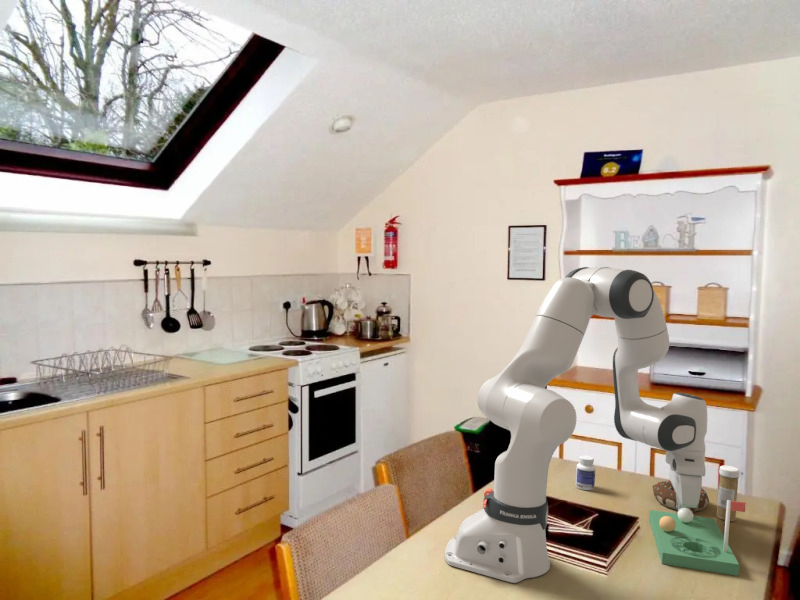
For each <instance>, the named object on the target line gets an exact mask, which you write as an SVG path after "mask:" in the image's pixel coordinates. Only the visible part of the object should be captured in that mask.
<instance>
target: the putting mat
mask: <svg viewBox="0 0 800 600" xmlns="http://www.w3.org/2000/svg"><path fill="white" fill-rule="evenodd" d="M730 510H733V511H736V512H742V513H745V512H746V502H742V501H737V502H736V501H730V500H727V507H726V520H724V524H725V525H724V534H723V532H722V530H721V528H720V527H719V525H718V523H717V521H716V520H715V518H713V517H711V518H710V517H705V516H696V515H693V520H692V521H691V522H689V523H684V522H682V521H681V520H680V519H679V518H678V512H676V513H675V512H669V511H662V510H654V509H649V514H648V515H649V516H648V521H649V524H650V527H651V531H652V534H653V537H654V540H655V544H656V548H657V551H658V555H659V559H660V561H661V564H662V565H667V566H674V567H680V568H687V569H693V570H699V571H704V572H705V571H706V572H710V573H711V572H712V573H718V574H723V575H728V576H729V575H730V576H737V577H739V571H740V564H739V561H738V560H737V558H736V556H735V554H734V553H733V551H732V549H731V547H730V545H729V536H730V535H729V534H730V533H729V531H730V522H731V521H730ZM664 516H669V517H671V518H673V519H674V521H675V523H676V527H675V529H674V530H673V531H671V532H666V531H664V530H663V529H662V528H661V527H660V524H659V522H660V519H661V518H662V517H664Z"/></svg>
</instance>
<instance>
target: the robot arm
mask: <svg viewBox="0 0 800 600" xmlns="http://www.w3.org/2000/svg"><path fill="white" fill-rule="evenodd" d="M594 315H595V316H599V317H602V318H603V317H604V318H614V324H615V325H614V326H615V331H616V336H617V347H616V349H615V350H614V352H613V356H612V377H613V387H614V400H615V401H614V402H615V405H614V408H615V409H614V415H613V416H614V417H613V422H614V426H615V429H616V432H617V433H618V434H619V435H620V437H622V438H624V439H628V440H631V441H635V442H639V443H641V444H644V445H648V446H650V447H653V448H656V449H660V450H662V451H665V463H666V464H668V465H669V471H668V472H669V473H668V477H669V480H670V481H671V483H672V485H673V488H674V490H675V492H676V499H677V506H676V507H677V509H678V510H677V512H678V511H679V510H680V509H681V508H686V507H691V508H696V507H697V506H698V504H699V499H700V493H701V487H702V484H703V477H705V476H706V464H705V463H706V462H705V461H706V443H705V439H706V438H705V437H706V435H707V432H708V431H707V430H708V407H707V403H706V401H705V399H704V398H702V397H700V396H697V395H693V394H690V393H685V392H675V393H673V394H672V398H671V400H670V401H669V402H668V403H667V404H666V405H664V406H661V407H657V406H655V405H650V404H648V403H646V402H645V401H644V400H642V398H641V397H640V389H639V375H638V374H639V373H638V372H639V370H642V369H646V368H649V367H651V366H653V365H655V364H657V363H659V362H661V361H662V360H663V359H664V357H665V356H666V355H667V354H668V351H669V348H670V335H669V331H668V327H667V322H666V317H665V313H664V311H663V307H662V305H661V301H660V300H659V297H658V295H657V293H656V291H655V290H654V287H653V284H652V282H651V281H650V278H648V276H647V275H645V274H643V272H639V271H637V270H633V269H622V268H621V269H620V268H612V267H610V266H598V267H597V266H595V267H589V266H588V267H587V266H585V267H584V266H583V267H578V268H576V269H573V270H571V271H570V272H568V274H566V276H565V277H561V278H559V279H557V280H556V281H555V282H554V283H553V284H552V286H551V287H550V288H549V290H548V292H547V293H546V295H545V296H544V298H543V300H542V301H541V303H540V305H539V308H538V310H537V311H536V313H535V316H534V318H533V320H532V323H531V325H530V327H529V329H528V332H527V334H526V336H525V338H524V340H523V342H522V344H521V346H520V348H519V349H518V351H517V352H516V354H515V355H514V357H513V358H512V359H511V360H510V361H509V362H508V364H507V365H506V366H505V367H504V368H503V369H502V370H501V371H500V372H499V373H497V375H495V376H492V377H491V378H489V379H487V380H485V382H483V384H482V385H481V386H480V388H479V391H478V393H477V405H478V409H479V411H480V413H482V414H483V415H484V417H486V418H487V419H488V420H489V421H491V423H493V424H494V425H496V426H498V427H500V428H503V429H506V430H507V431H509V432H510V441H509V442H510V443H509V445H508V446H507V447H508V448H507V450H505V451H503V452H502V453H500V454H499V455H498V456H497V458H496V460H495V462H494V475H493V476H494V479H493V481H494V482H493V489H492V487H487V488H486V489H484V493H483V497H484V498H483V504H482V505H483V508H481V509H480V510H478V511H476V512H475V513H472V514H470V515H468V516H467V517H466V518H465V519H464V520H463V521H462V522H461V523H460V526H459V528H458V530H457V533H456V535H455V536H453V537H452V538H450V540H449V541H448V543H447V544H446V546H445V550H444V560H445V562H446V563H447V564H448V565H449V566H452V567H455V568H459V569H462V570H464V571H465V570H466V571H468V572H469V571H470V572H473V573H476V574H479V575H484V576H487V577H490V578H494V579H498V580H501V581H505V582H507V583H513V584H516V583H518V582H519V583H520V582H521V581H524V580H526V579H530V578H536V577H540V576H542V575H544V574H546V573H547V572H548V571H549V570H550V568H551V562H550V559H549V554H548V548H547V547H548V546H547V537H546V528H547V525H548V520H549V519H548V517H549V505H548V499H547V485H548V475H549V468H550V463H551V461H552V457H553V455H554V453H555V451H556V450H557V449H558V447H560V445H562V444H564V443H566V442H567V441H568V440H569V439H570V438H571V437H572V435H573V433H574V431H575V429H576V426H577V412H576V409H575V406H574V405H573V403H572V402H571V401H569V400H568V399H566V398H565V397H563V396H562V395H560V394H559V393H557V392H556V391H554V390H551V389H549V388H546V387H547V386H548V385H549V383H551V382H552V380H553V379H555V378H556V377H558V376H560V375H562V374H564V373H566V372H568V371H569V369H571V367H572V365H573V363H574V361H575V358H576V356H577V354H578V352H579V349H580V347H581V343H582V342H583V339H584V337H585V334H586V331H587V329H588V326H589V323H590V320H591V318H592V317H593V316H594Z"/></svg>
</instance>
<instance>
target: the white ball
mask: <svg viewBox="0 0 800 600" xmlns="http://www.w3.org/2000/svg"><path fill="white" fill-rule="evenodd" d="M693 513H694V512H692V511H691V510H690V509H688V508H681V509H680V510H679V511H678V510H677V514H678V518H679V519H680V520H681V521H682V522H684V523H689V522H691V521H692V520H693V516H694V514H693Z"/></svg>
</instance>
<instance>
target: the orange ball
mask: <svg viewBox="0 0 800 600" xmlns="http://www.w3.org/2000/svg"><path fill="white" fill-rule="evenodd" d="M659 524H660V527H661V528H662V529H663V530H664V531H666V532H671V531H673V530H674V529H675V527H676V523H675V521H674V519H673V518H671V517H669V516H664V517H662V518H661V519H660V522H659Z"/></svg>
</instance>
